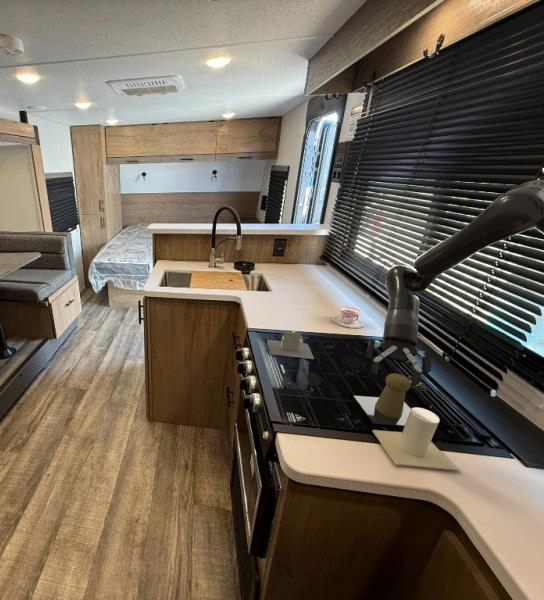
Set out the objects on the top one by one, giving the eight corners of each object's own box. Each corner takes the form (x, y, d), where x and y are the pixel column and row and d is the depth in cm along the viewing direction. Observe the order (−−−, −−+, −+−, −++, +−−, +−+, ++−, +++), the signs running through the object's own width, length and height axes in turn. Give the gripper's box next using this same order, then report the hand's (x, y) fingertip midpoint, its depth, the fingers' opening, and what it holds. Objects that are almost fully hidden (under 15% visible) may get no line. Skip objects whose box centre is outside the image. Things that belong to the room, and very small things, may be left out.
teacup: (326, 317, 141) (328, 305, 139) (350, 315, 142) (353, 303, 140) (344, 329, 130) (348, 316, 128) (370, 327, 131) (374, 314, 129)
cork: (382, 416, 83) (393, 383, 78) (370, 401, 88) (380, 369, 84) (407, 419, 82) (420, 385, 77) (394, 403, 87) (405, 371, 83)
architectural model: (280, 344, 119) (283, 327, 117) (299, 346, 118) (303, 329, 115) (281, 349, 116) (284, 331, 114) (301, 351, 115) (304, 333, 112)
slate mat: (401, 400, 89) (401, 398, 89) (428, 428, 79) (428, 427, 79) (352, 396, 91) (353, 395, 91) (373, 424, 81) (373, 423, 81)
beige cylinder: (416, 440, 75) (429, 408, 71) (430, 457, 70) (445, 424, 67) (393, 438, 76) (405, 406, 72) (406, 455, 71) (420, 422, 67)
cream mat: (424, 435, 77) (424, 434, 77) (455, 470, 68) (456, 469, 68) (372, 431, 79) (372, 429, 78) (396, 464, 69) (396, 463, 69)
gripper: (374, 317, 90) (365, 370, 85) (438, 328, 83) (433, 386, 78) (368, 326, 96) (360, 376, 91) (427, 337, 89) (422, 392, 84)
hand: (394, 381), depth 85 cm, fingers open, 8 cm apart
